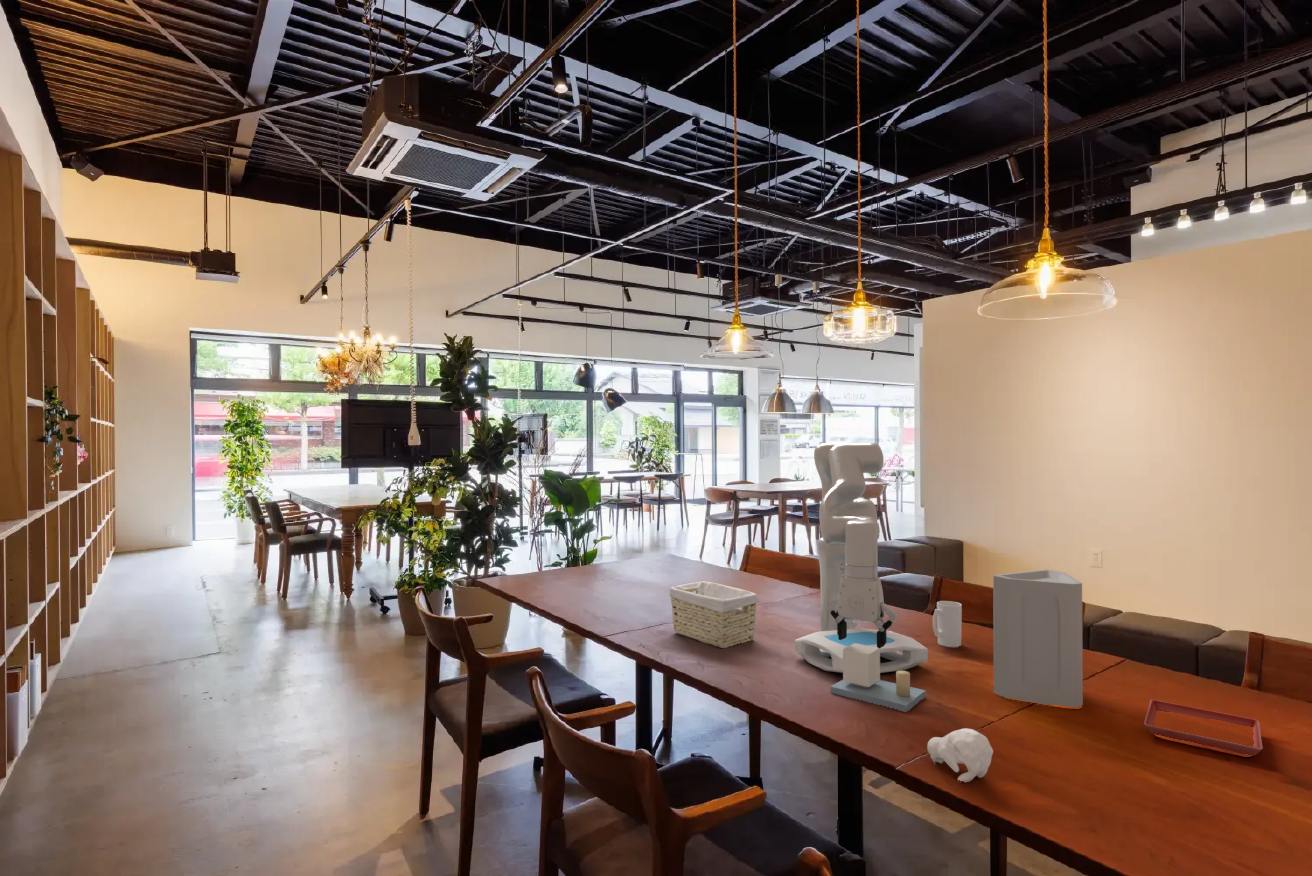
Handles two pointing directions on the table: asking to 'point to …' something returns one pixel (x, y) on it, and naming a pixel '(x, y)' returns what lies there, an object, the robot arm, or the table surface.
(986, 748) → the white animal figure
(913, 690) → the slate board
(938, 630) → the mug
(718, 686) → the table surface
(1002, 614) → the grey triangular planter
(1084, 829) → the table surface
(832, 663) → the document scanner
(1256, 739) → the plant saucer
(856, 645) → the matte white cube
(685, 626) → the storage basket
